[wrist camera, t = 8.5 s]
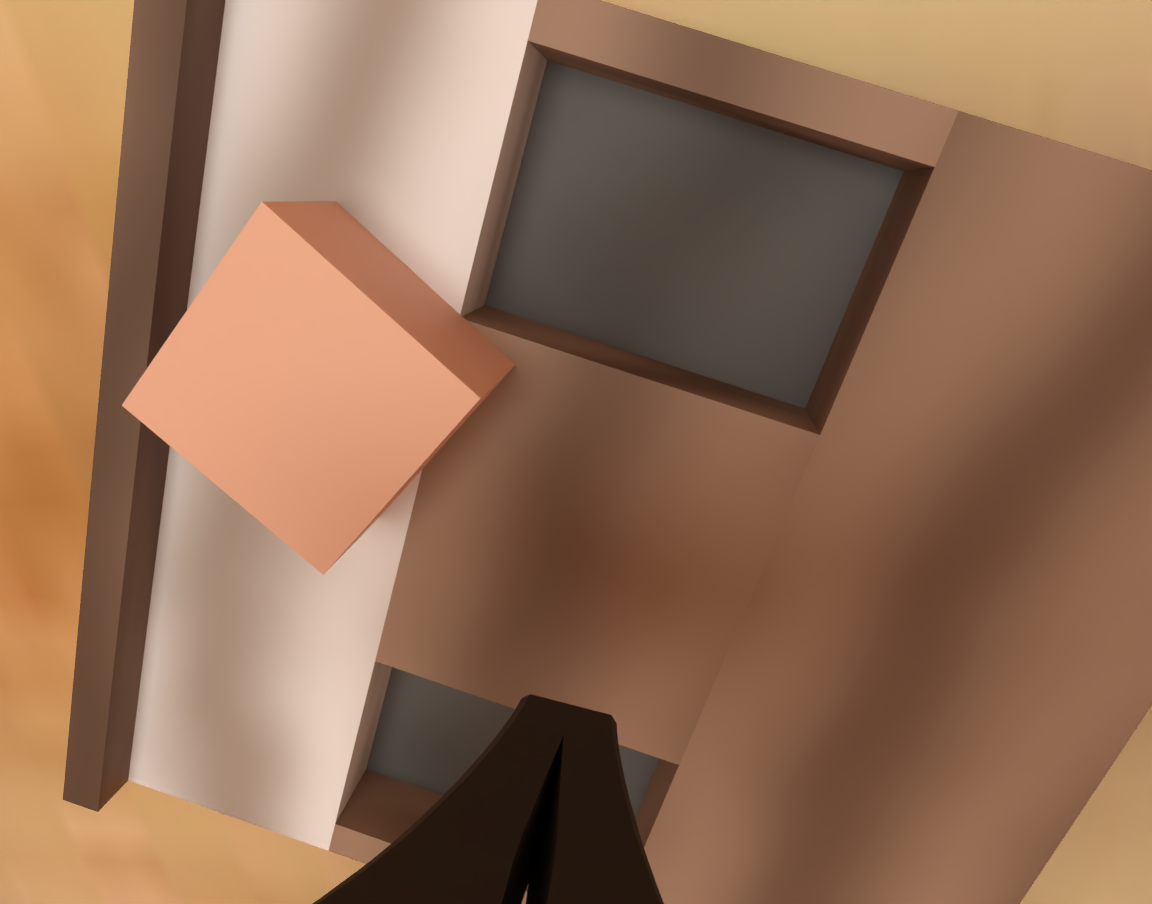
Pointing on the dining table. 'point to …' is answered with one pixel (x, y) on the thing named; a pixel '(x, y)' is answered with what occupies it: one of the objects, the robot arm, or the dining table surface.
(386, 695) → the trap board
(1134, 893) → the dining table surface
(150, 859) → the dining table surface
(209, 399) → the terracotta block
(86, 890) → the dining table surface
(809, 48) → the dining table surface
